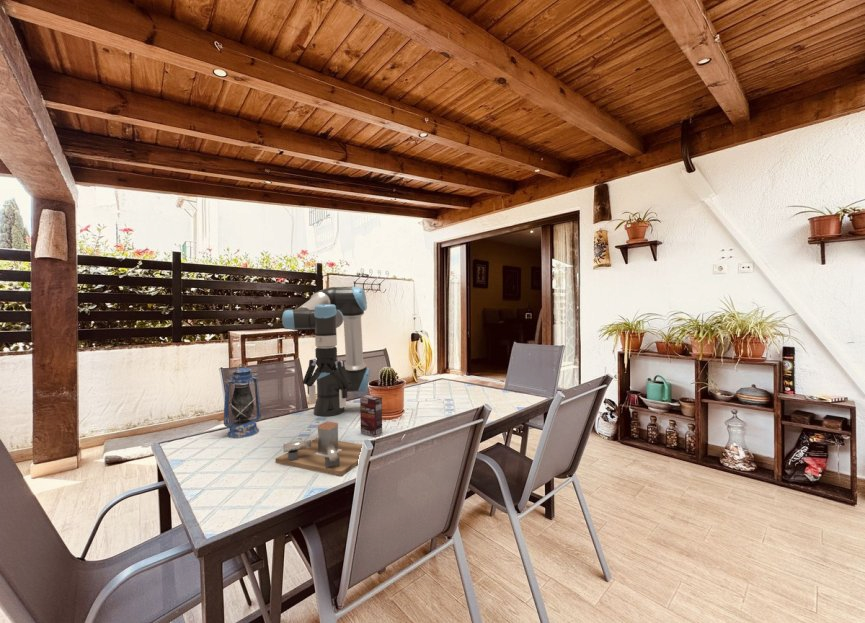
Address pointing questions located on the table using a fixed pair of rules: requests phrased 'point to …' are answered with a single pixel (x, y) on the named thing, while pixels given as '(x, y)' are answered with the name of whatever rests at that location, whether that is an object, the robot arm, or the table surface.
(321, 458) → the cradle board
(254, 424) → the lantern
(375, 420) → the supplement box
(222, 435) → the table surface
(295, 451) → the shaft
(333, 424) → the block
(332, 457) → the shaft
